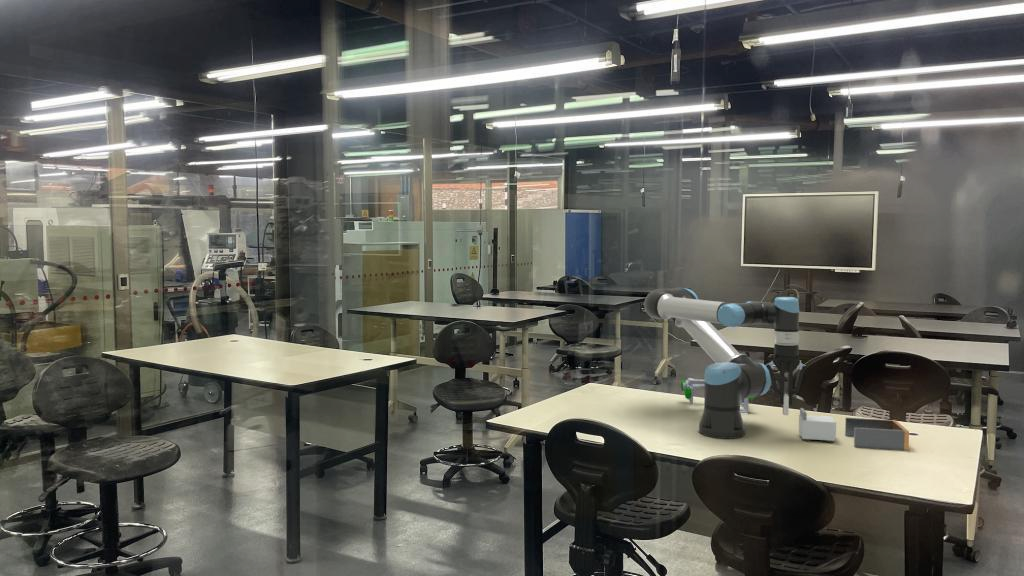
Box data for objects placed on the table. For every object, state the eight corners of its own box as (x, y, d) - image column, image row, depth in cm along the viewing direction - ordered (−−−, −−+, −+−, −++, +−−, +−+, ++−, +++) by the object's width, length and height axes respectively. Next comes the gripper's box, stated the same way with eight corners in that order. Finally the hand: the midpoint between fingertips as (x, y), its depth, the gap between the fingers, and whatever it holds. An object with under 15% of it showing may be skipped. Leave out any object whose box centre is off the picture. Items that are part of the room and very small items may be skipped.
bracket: (680, 401, 280) (681, 377, 280) (743, 403, 277) (744, 379, 276) (686, 412, 262) (686, 386, 261) (753, 414, 258) (754, 388, 258)
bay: (854, 447, 215) (855, 428, 215) (845, 435, 229) (845, 417, 229) (908, 450, 211) (909, 431, 211) (895, 438, 225) (895, 420, 225)
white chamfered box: (802, 441, 222) (802, 413, 221) (798, 434, 230) (799, 407, 229) (835, 443, 219) (836, 415, 219) (830, 436, 227) (831, 409, 227)
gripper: (766, 344, 223) (765, 415, 224) (809, 345, 220) (808, 418, 221) (764, 341, 231) (763, 410, 232) (805, 342, 227) (804, 412, 228)
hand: (785, 414), depth 226 cm, fingers closed
